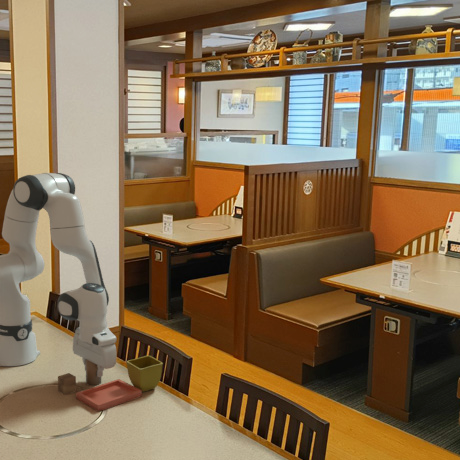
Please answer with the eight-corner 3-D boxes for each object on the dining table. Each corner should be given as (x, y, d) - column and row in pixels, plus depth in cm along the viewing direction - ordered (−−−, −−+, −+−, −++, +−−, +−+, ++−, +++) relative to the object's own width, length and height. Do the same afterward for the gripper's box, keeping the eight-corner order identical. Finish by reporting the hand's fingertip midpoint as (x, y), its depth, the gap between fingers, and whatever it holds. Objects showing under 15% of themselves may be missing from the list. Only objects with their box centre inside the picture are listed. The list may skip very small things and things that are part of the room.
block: (58, 391, 195) (57, 376, 194) (69, 387, 198) (68, 372, 197) (64, 395, 193) (64, 380, 192) (75, 391, 195) (75, 376, 195)
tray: (76, 398, 190) (76, 392, 190) (118, 384, 201) (118, 378, 201) (98, 411, 182) (98, 405, 181) (141, 396, 193) (141, 390, 193)
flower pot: (139, 396, 193) (140, 369, 192) (125, 386, 200) (125, 360, 198) (163, 389, 199) (163, 363, 197) (148, 380, 205) (149, 355, 204)
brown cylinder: (82, 382, 202) (82, 359, 201) (95, 378, 206) (95, 355, 205) (91, 386, 199) (91, 363, 198) (104, 382, 203) (104, 359, 201)
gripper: (67, 327, 205) (68, 367, 207) (103, 343, 191) (103, 385, 193) (83, 323, 209) (84, 362, 211) (119, 338, 195) (119, 379, 197)
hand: (93, 373), depth 202 cm, fingers closed on brown cylinder, 5 cm apart
